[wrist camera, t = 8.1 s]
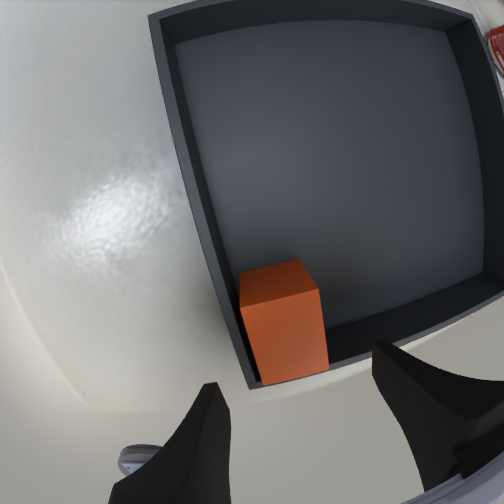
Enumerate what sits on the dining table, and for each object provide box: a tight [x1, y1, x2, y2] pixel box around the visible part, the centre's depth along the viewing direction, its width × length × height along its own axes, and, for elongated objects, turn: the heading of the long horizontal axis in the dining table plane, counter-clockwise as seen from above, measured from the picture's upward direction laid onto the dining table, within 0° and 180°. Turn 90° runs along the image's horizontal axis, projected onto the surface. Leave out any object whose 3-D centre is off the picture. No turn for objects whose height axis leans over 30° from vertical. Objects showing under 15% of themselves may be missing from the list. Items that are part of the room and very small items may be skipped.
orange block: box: [240, 259, 329, 386], centre depth 17 cm, size 6×4×5 cm
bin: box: [148, 0, 504, 390], centre depth 15 cm, size 23×23×4 cm
